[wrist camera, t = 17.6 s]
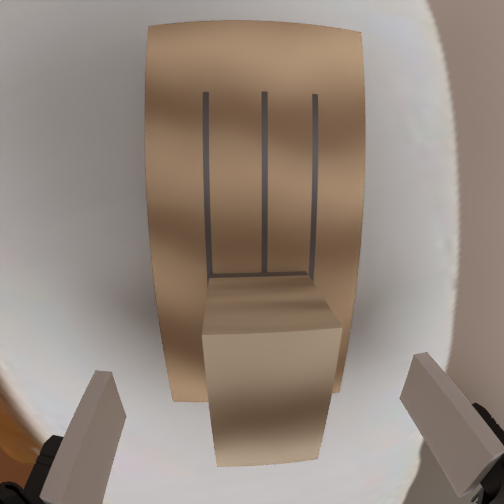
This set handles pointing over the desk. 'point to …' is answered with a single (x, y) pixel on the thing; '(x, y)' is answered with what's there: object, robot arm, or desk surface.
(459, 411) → the robot arm
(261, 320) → the block
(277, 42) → the board
